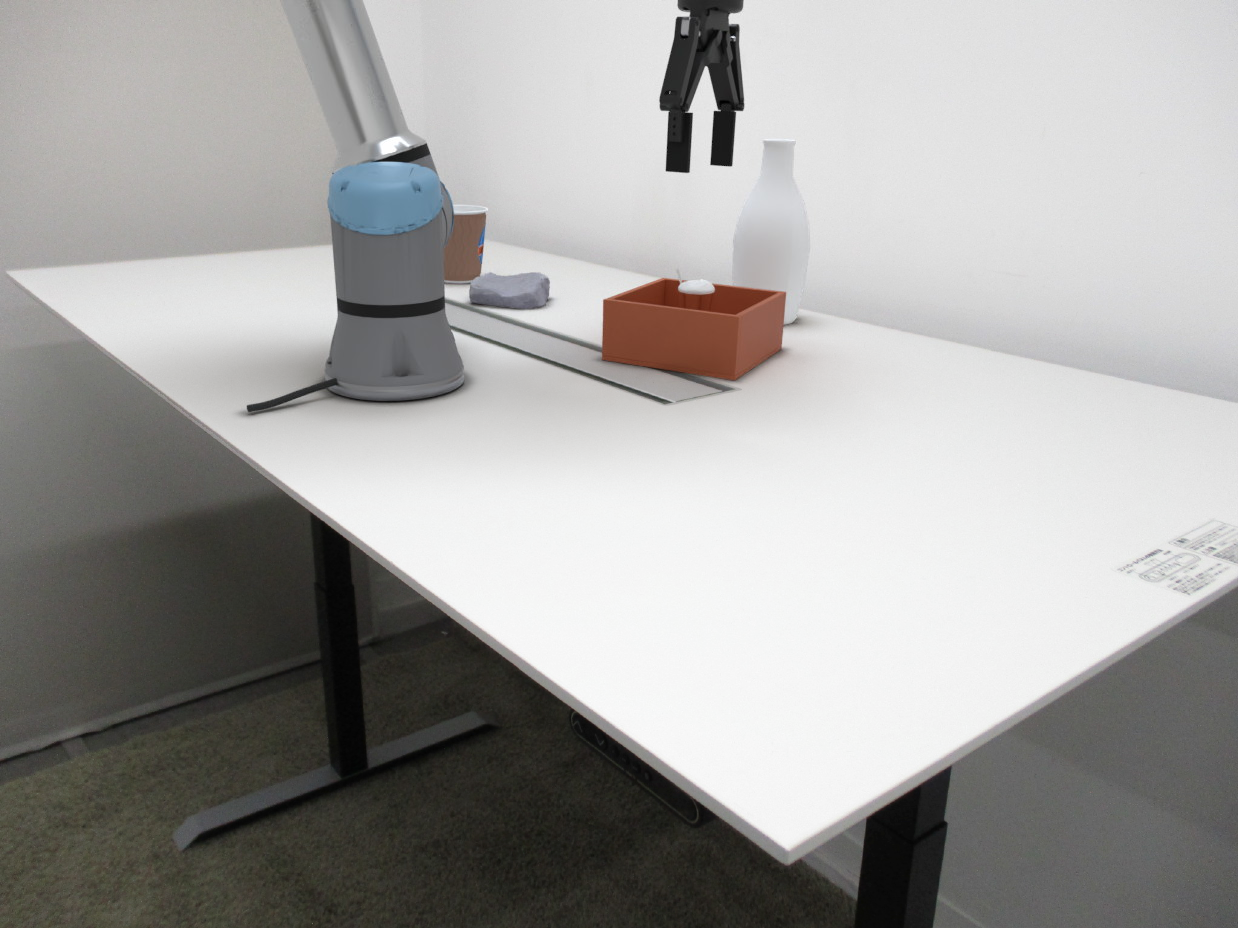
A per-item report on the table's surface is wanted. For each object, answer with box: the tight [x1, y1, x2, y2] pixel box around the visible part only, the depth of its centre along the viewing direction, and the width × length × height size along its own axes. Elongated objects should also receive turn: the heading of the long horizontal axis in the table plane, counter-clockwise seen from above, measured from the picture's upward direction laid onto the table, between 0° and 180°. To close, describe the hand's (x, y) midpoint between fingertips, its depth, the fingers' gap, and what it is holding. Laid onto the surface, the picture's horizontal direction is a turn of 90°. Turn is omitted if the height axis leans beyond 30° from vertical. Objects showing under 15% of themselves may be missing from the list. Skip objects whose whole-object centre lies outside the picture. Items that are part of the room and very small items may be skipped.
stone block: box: [468, 271, 551, 310], centre depth 156 cm, size 12×5×10 cm
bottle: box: [731, 138, 811, 326], centre depth 145 cm, size 11×11×25 cm
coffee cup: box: [443, 204, 489, 285], centre depth 170 cm, size 10×10×12 cm
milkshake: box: [675, 269, 715, 312], centre depth 127 cm, size 4×5×10 cm
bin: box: [601, 277, 786, 381], centre depth 128 cm, size 18×18×8 cm
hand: (700, 169), depth 122 cm, fingers open, 13 cm apart
